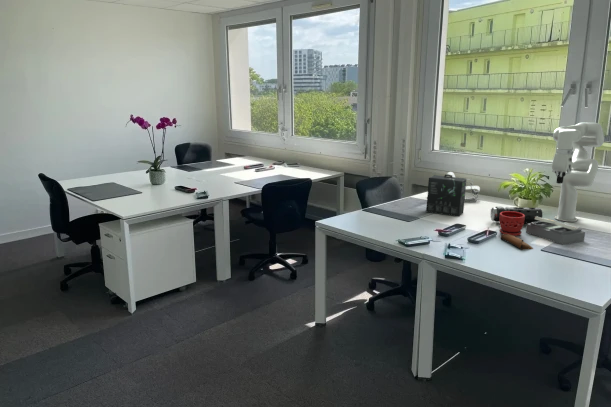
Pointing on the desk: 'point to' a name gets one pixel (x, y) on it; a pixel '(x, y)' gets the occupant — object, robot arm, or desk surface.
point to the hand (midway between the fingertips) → (559, 183)
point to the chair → (469, 186)
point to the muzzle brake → (528, 212)
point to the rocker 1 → (545, 220)
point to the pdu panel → (555, 232)
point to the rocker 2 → (565, 226)
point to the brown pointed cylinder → (516, 241)
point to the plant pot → (511, 222)
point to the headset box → (446, 195)
